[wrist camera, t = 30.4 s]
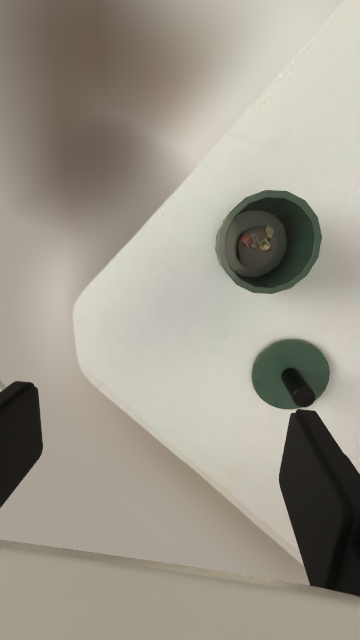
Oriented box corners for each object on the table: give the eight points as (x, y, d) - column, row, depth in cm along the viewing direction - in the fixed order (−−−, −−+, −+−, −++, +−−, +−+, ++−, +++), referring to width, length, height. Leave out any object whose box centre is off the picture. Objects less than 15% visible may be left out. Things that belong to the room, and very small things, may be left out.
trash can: (212, 278, 37) (214, 289, 27) (219, 203, 34) (224, 188, 25) (284, 283, 36) (310, 296, 27) (296, 207, 33) (330, 192, 24)
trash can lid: (246, 401, 41) (254, 430, 34) (255, 335, 38) (266, 353, 32) (318, 408, 40) (339, 439, 34) (333, 341, 37) (359, 361, 31)
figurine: (255, 273, 35) (264, 279, 30) (226, 253, 35) (230, 255, 29) (281, 237, 34) (297, 235, 28) (252, 216, 34) (262, 210, 28)
